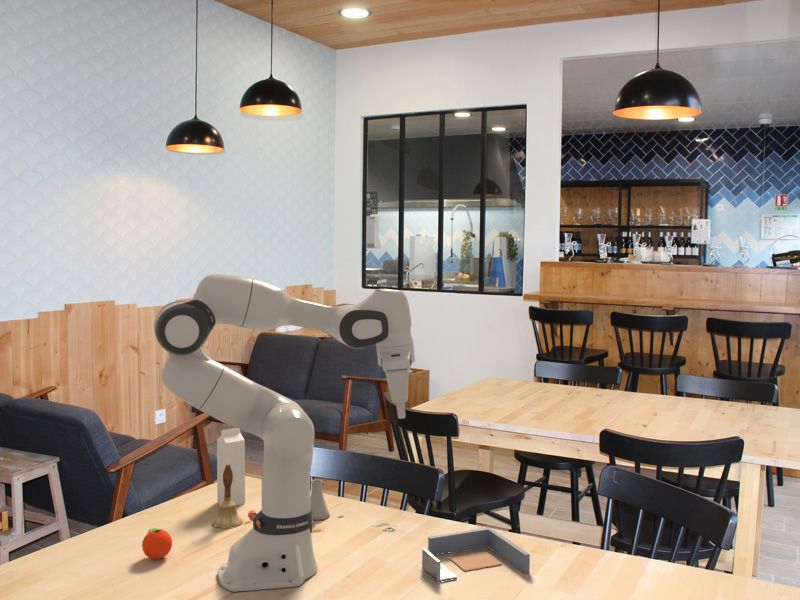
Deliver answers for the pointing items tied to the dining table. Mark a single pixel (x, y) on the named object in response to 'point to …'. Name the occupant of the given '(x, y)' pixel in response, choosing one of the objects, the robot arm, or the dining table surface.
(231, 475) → the wooden handled brush
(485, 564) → the mat
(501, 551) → the grey l-shaped piece
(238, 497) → the milk
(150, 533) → the clementine
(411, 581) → the dining table surface
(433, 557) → the angle bracket
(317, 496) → the flask
